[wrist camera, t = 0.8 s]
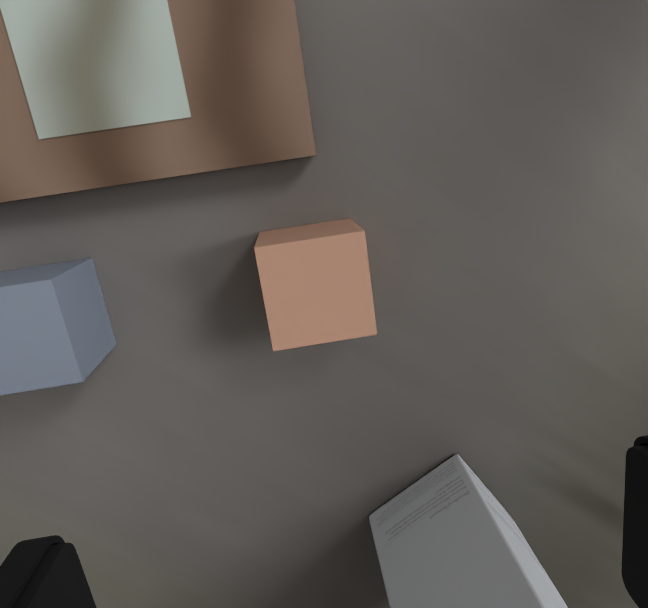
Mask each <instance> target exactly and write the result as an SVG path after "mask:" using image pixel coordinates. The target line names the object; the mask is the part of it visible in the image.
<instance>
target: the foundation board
mask: <svg viewBox="0 0 648 608" xmlns="http://www.w3.org/2000/svg"><path fill="white" fill-rule="evenodd" d="M315 155H316V149H315V142H314V135H313V128H312V121H311V114H310V107H309V100H308V93H307V86H306V79H305V72H304V64H303V57H302V50H301V43H300V36H299V29H298V22H297V15H296V8H295V1H294V0H0V203H1V202H7V201H14V200H21V199H27V198H34V197H41V196H47V195H54V194H61V193H68V192H74V191H81V190H88V189H94V188H101V187H108V186H114V185H121V184H128V183H134V182H141V181H148V180H154V179H161V178H168V177H175V176H181V175H188V174H195V173H201V172H208V171H215V170H221V169H228V168H235V167H241V166H248V165H255V164H261V163H268V162H275V161H282V160H288V159H295V158H302V157H308V156H315Z"/></svg>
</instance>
